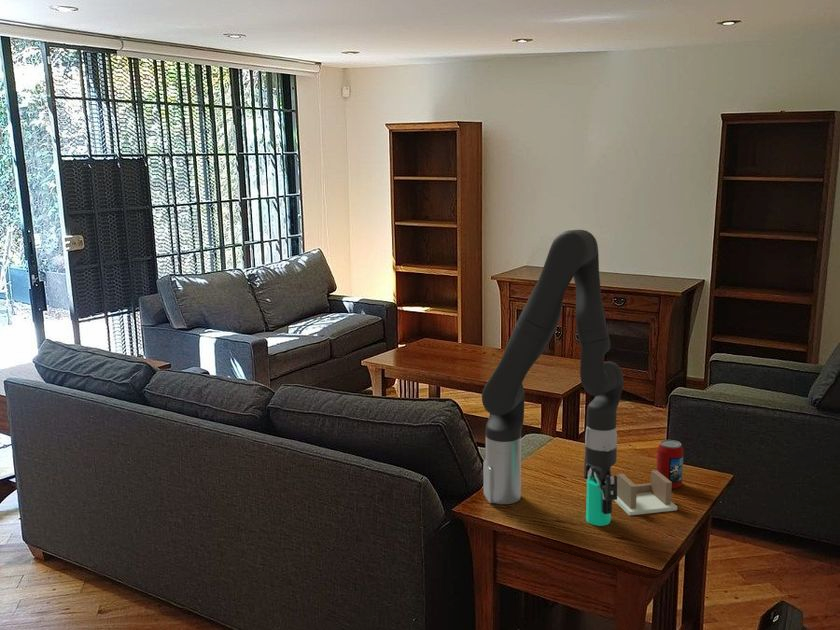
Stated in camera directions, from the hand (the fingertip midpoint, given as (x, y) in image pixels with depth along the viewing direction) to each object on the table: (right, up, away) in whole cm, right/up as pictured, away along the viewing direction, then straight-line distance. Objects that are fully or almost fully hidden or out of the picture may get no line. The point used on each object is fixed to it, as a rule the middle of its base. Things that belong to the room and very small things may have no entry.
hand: (599, 505), depth 197 cm
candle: (0, -4, +1) cm, 4 cm away
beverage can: (+23, +1, +20) cm, 31 cm away
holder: (+13, -2, +9) cm, 16 cm away
